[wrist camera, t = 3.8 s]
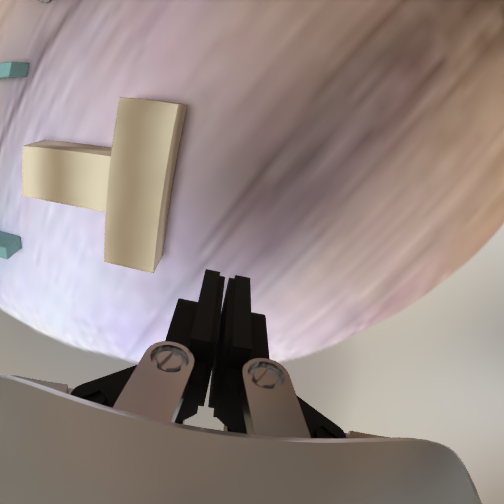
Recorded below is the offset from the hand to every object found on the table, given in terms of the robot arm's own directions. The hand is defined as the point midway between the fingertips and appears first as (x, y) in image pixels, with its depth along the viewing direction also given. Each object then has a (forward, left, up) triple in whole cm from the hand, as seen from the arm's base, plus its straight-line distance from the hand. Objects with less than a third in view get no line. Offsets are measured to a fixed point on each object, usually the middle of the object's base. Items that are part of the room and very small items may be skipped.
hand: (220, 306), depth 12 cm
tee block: (+11, -1, -13) cm, 17 cm away
